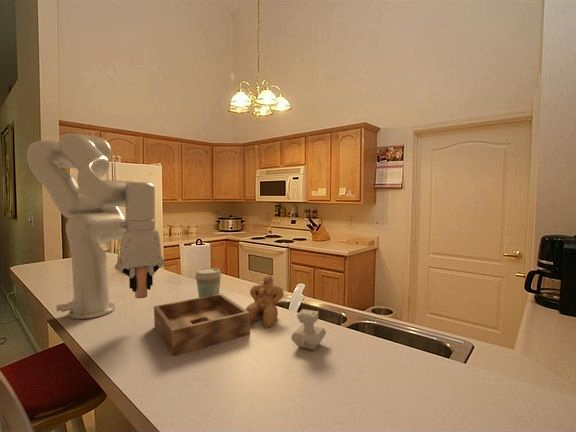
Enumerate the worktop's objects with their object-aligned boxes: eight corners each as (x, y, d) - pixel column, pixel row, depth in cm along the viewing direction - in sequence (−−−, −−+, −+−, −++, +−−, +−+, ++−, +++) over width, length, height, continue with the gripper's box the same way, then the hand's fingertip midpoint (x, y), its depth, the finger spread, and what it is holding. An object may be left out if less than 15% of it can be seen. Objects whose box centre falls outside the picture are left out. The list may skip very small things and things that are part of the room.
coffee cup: (215, 310, 103) (214, 274, 102) (191, 309, 105) (190, 273, 104) (226, 302, 111) (225, 268, 111) (203, 300, 113) (202, 267, 112)
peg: (136, 299, 90) (135, 264, 89) (134, 295, 93) (133, 261, 92) (148, 297, 92) (148, 263, 91) (146, 294, 94) (145, 260, 93)
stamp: (315, 357, 73) (314, 321, 73) (288, 351, 76) (288, 316, 76) (327, 340, 81) (327, 308, 81) (303, 335, 84) (303, 304, 84)
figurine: (238, 325, 92) (243, 272, 95) (253, 323, 100) (256, 275, 104) (273, 328, 88) (276, 273, 92) (285, 326, 96) (287, 275, 100)
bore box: (173, 355, 74) (172, 330, 74) (154, 326, 91) (153, 306, 90) (250, 334, 85) (249, 312, 85) (221, 312, 102) (220, 293, 102)
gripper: (108, 228, 83) (109, 298, 84) (174, 226, 92) (174, 288, 93) (106, 225, 89) (107, 290, 90) (167, 223, 98) (167, 282, 100)
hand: (141, 288), depth 92 cm, fingers closed on peg, 3 cm apart
